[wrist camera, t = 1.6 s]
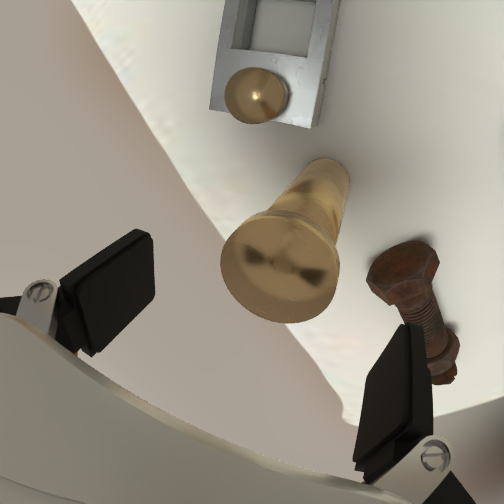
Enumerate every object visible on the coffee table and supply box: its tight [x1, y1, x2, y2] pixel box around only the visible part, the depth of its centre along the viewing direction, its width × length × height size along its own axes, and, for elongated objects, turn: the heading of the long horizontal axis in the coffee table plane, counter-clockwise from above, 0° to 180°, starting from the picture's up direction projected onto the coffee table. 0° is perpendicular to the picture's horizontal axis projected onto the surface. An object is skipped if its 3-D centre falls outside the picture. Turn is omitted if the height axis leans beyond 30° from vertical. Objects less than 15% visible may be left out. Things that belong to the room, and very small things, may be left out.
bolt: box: [366, 241, 460, 385], centre depth 21 cm, size 6×5×15 cm
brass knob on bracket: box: [209, 0, 340, 129], centre depth 15 cm, size 14×7×4 cm, turn 172°
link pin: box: [220, 158, 350, 323], centre depth 16 cm, size 4×4×13 cm
